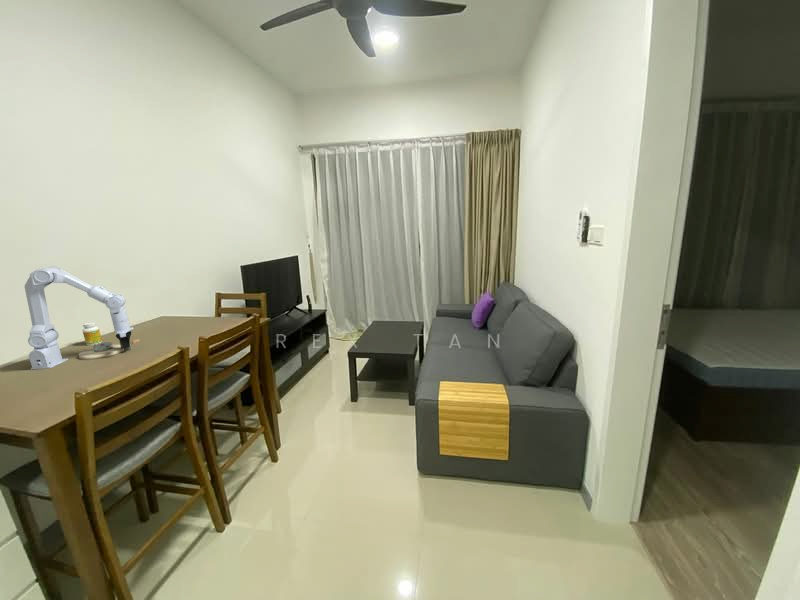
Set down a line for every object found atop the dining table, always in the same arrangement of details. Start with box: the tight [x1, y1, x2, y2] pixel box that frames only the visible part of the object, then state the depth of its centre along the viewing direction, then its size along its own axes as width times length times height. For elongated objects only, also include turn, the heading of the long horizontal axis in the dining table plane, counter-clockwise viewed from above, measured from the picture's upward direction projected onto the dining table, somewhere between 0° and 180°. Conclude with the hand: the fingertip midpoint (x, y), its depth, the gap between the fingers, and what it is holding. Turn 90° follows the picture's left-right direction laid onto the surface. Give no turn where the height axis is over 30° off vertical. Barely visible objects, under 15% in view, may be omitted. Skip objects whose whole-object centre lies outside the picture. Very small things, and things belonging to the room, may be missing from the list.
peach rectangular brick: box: [131, 338, 141, 344], centre depth 169 cm, size 3×1×2 cm, turn 160°
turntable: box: [78, 341, 132, 361], centre depth 156 cm, size 18×20×5 cm
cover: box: [92, 341, 113, 352], centre depth 156 cm, size 7×7×3 cm
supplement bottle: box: [82, 321, 103, 346], centre depth 169 cm, size 6×6×11 cm
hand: (126, 347), depth 155 cm, fingers closed
